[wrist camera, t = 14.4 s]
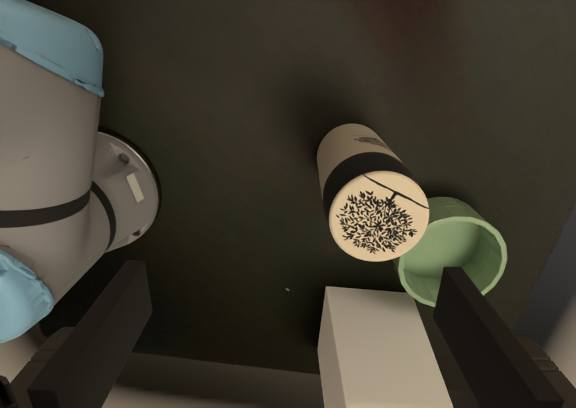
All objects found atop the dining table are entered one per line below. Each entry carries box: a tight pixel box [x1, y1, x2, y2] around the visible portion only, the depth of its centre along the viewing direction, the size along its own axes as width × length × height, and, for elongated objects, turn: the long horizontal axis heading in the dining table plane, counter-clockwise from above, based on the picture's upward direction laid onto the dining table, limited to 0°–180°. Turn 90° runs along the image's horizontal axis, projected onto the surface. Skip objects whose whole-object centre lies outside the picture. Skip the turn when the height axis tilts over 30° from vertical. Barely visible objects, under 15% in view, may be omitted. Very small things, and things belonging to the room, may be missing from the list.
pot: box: [391, 197, 507, 307], centre depth 45 cm, size 12×12×6 cm
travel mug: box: [317, 124, 429, 261], centre depth 36 cm, size 8×8×18 cm
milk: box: [317, 286, 453, 408], centre depth 42 cm, size 12×12×26 cm
